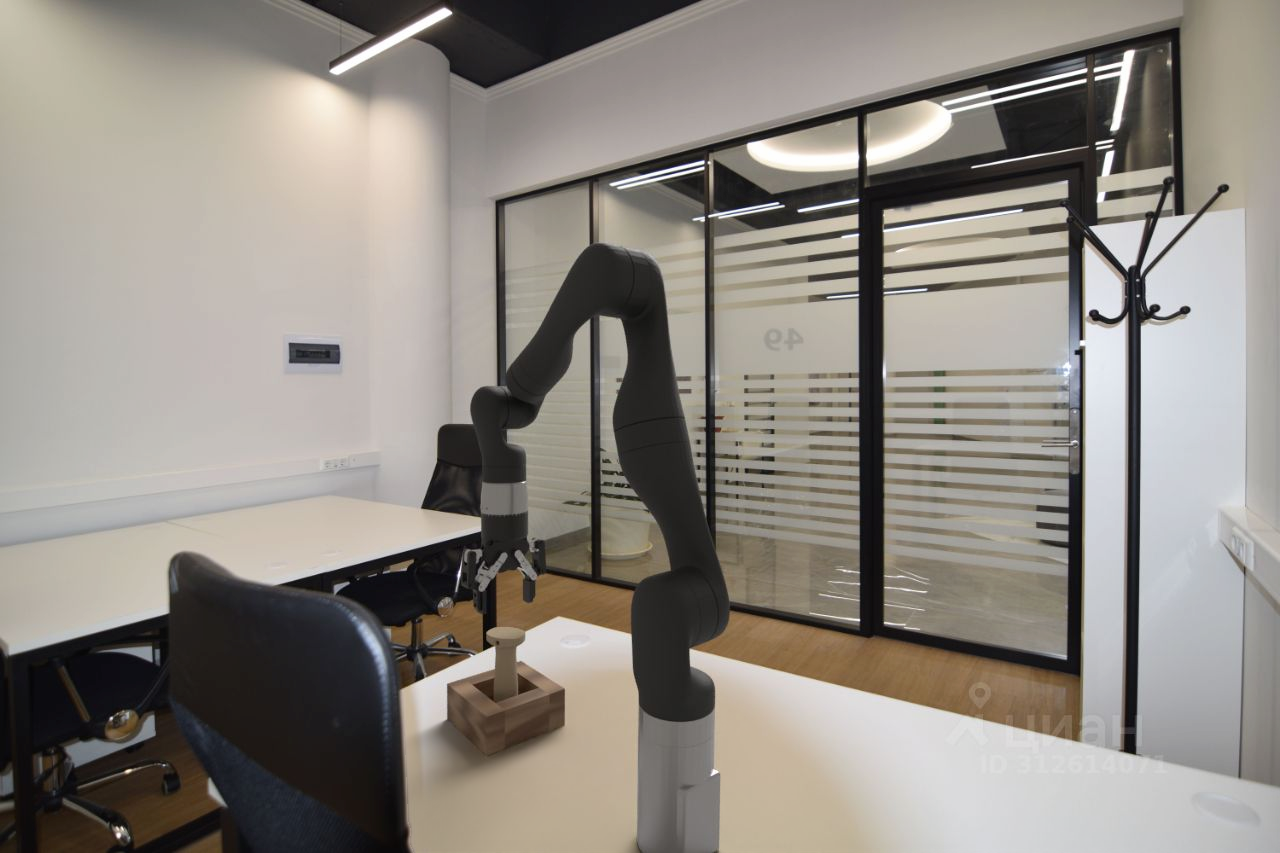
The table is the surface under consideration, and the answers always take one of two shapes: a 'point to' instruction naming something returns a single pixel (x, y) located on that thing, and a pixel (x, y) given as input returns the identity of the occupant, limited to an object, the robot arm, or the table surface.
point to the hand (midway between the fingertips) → (505, 607)
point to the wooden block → (505, 709)
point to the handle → (505, 660)
